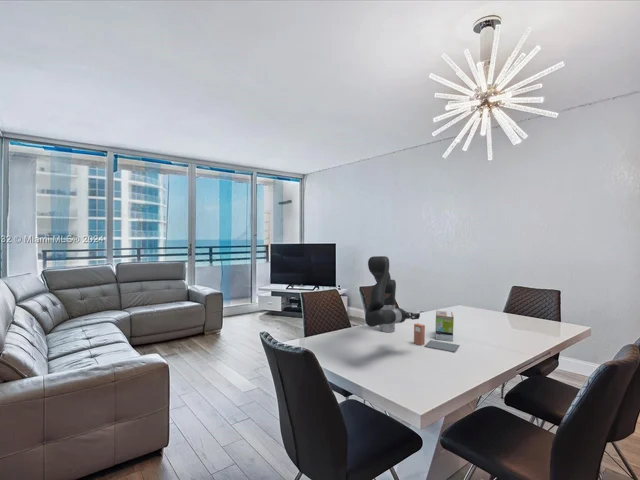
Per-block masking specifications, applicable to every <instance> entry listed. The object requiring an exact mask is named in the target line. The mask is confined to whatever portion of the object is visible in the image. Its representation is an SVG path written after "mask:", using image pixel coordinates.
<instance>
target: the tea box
mask: <svg viewBox="0 0 640 480" xmlns="http://www.w3.org/2000/svg"><path fill="white" fill-rule="evenodd" d="M454 317H455V316H454V313H453V311H444V310H436V311H435V340H436V341H444V342H445V341H446V342H447V341H448V342H453V339H454V321H455V319H454Z"/></svg>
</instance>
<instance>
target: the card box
mask: <svg viewBox="0 0 640 480" xmlns="http://www.w3.org/2000/svg"><path fill="white" fill-rule="evenodd" d="M413 326H414V327H413V344H415V345H418V346H425V345H426V343H425V339H426V336H425V335H426V333H425V332H426V331H425V329H426V325H425V324H421V323H414V324H413Z"/></svg>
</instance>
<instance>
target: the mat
mask: <svg viewBox="0 0 640 480" xmlns="http://www.w3.org/2000/svg"><path fill="white" fill-rule="evenodd" d="M423 347H424V348H427V349H434V350H439V351H445V352H450V353H456V352H457V350H458V349H459V348H460V344H456V343H455V344H454V343H451V342H450V343H449V342H445V341H440V340H434V339H433V340H432V339H430V340H429V341H428V342H427V343H425V345H423Z"/></svg>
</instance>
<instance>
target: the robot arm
mask: <svg viewBox="0 0 640 480" xmlns="http://www.w3.org/2000/svg"><path fill="white" fill-rule="evenodd" d="M367 267H368V270H369V272H370V273H371V275H372V276H373V277H374V280H375V282H376V283H375V284H374V285H373V287H372V289H371V290H370V291H371V292H370V299H369V303H368V306H367V309H366V313H365V316H364V317H365V324H366V325H367V326H368V327H371V328H374V327H377V326H378V327H379V328H378V331H381V332H383V333H394V332H396V331H395V330H396V327H395V326H396V324H402V323H404V322H405V321H406V320H419V319H420V317H421V313H420V312H417V313H416V312H415V313H414V312H412V311H410V312H409V311H406V310H404V309H403V308H400V307H397V308H396V291H397V283H396V280H395V279H391V274H390V260H389V257H388V256H387V255H386V256H383V255H382V256H379V255H378V256H374V255H373V256H371V257H369V258H368V261H367ZM386 294H388V295H389V296H387V297H385V295H386Z"/></svg>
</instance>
